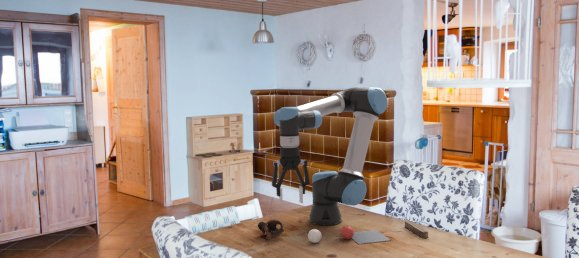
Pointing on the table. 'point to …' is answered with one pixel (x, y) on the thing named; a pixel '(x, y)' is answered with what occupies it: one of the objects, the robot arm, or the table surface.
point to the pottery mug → (271, 228)
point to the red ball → (347, 232)
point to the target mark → (369, 237)
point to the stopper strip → (416, 229)
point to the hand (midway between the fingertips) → (291, 203)
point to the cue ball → (314, 235)
